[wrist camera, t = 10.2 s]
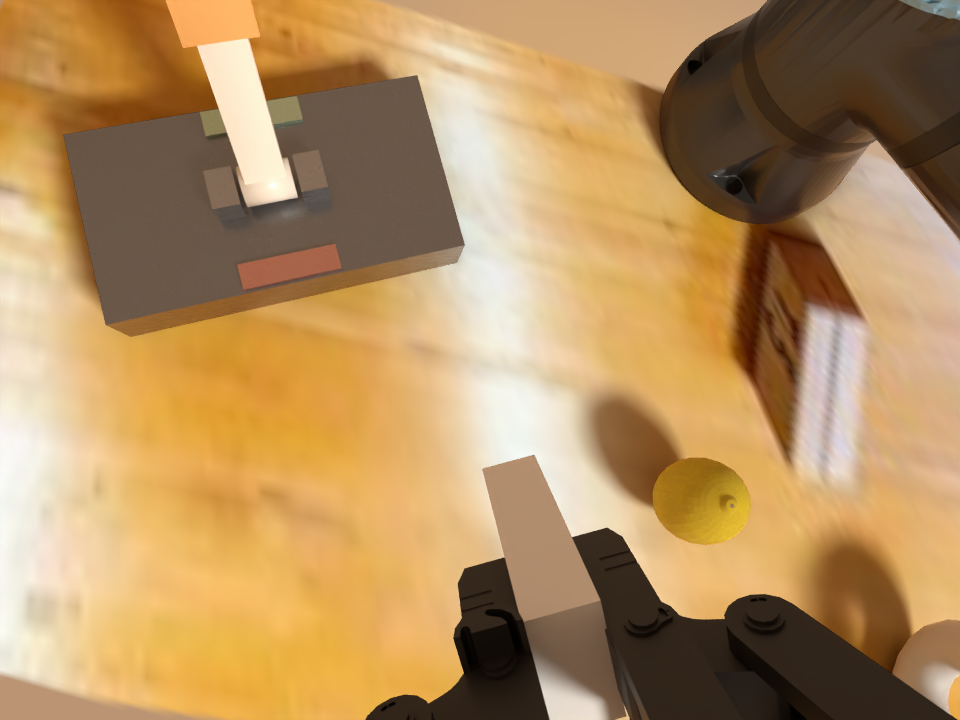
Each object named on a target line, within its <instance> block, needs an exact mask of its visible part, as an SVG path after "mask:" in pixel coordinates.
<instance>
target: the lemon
mask: <svg viewBox="0 0 960 720" xmlns="http://www.w3.org/2000/svg"><path fill="white" fill-rule="evenodd" d="M653 506H654V510H655V513H656V515H657V517H658V519H659V521H660V522H661V523H662V524H663V526H664V527H665V528H666V529H667V530H668V531H669V532H671V533H672V534H673V535H675V536H676V537H678V538H680V539H682V540H685V541H687V542H689V543H695V544H702V545H709V544H716V543H722V542H724V541H726V540H729V539H731V538H733V537H734V536H735V535H737V534H738V533H739V532H740V531H741V530H742V529H743V527H744V526H745V524H746V523H747V520H748V518H749V515H750V508H751V502H750V495H749V492H748V489H747V487H746V485H745V483H744V482H743V480H742V479H741V478H740V477H739V476H738V475H737V474H736V473H735V472H734V471H733V470H732V469H730V468H729V467H727V466H726V465H724V464H722V463H720V462H717V461H714V460H711V459H707V458H687V459H683V460H679V461H676V462H675V463H673V464H671V465H670V466H668V467H667V468H666V469H665V470H664V471H663V472H662V473H661V474H660V475H659V477H658V479H657V481H656V482H655V485H654V489H653Z"/></svg>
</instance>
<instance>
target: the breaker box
mask: <svg viewBox="0 0 960 720" xmlns="http://www.w3.org/2000/svg"><path fill="white" fill-rule="evenodd" d="M267 105H268V109H269V112H270V116H271V119H272V123H273V126H274V130H275V133H276V137H277V141H278V144H279V148H280V151H281V155H282V158H286V157H287V158H288V161H289V165H290V168H291V172H292V176H293V179H294V183H295V187H296V191H297V195H298V198H293V199H288V200H283V201H278V202H273V203H268V204H263V205H258V206H253V207H247V205H246V202H245V200H244V197H243V194H242V191H241V187H240V184H239V180H238V176H237V171H236V167H237V166H239V165H238V162H237V159H236V156H235V154H234V151H233V148H232V145H231V142H230V139H229V136H228V133H227V131H226V128H225V125H224V122H223V119H222V116H221V113H220V111H219V109H213V110H207V111H201V112H195V113H189V114H183V115H178V116H172V117H166V118H160V119H154V120H148V121H142V122H136V123H130V124H124V125H118V126H112V127H106V128H100V129H94V130H88V131H82V132H76V133H70V134H64V135H63V136H64V141H65V145H66V150H67V154H68V158H69V163H70V167H71V172H72V176H73V181H74V185H75V190H76V194H77V199H78V203H79V208H80V212H81V216H82V221H83V225H84V230H85V234H86V239H87V243H88V248H89V252H90V257H91V261H92V266H93V270H94V275H95V279H96V283H97V288H98V292H99V297H100V301H101V306H102V310H103V315H104V319H105V324H106V325H107V326H109V327H111V328H113V329H115V330H118V331H120V332H122V333H124V334H126V335H128V336H130V337H132V336H136V335H140V334H145V333H149V332H154V331H158V330H162V329H167V328H171V327H176V326H180V325H184V324H189V323H193V322H198V321H202V320H207V319H211V318H215V317H220V316H224V315H229V314H233V313H237V312H242V311H246V310H251V309H255V308H259V307H264V306H268V305H273V304H277V303H281V302H286V301H290V300H295V299H299V298H303V297H308V296H312V295H317V294H321V293H325V292H330V291H334V290H339V289H343V288H348V287H352V286H356V285H361V284H365V283H370V282H374V281H378V280H383V279H387V278H392V277H396V276H400V275H405V274H409V273H414V272H418V271H422V270H427V269H431V268H436V267H440V266H444V265H449V264H453V263H457V262H458V259H459V257H460V255H461V252H462V250H463V248H464V246H465V244H464V241H463V237H462V234H461V230H460V227H459V223H458V219H457V216H456V212H455V209H454V205H453V202H452V198H451V194H450V191H449V187H448V184H447V180H446V177H445V173H444V169H443V166H442V162H441V159H440V155H439V152H438V148H437V144H436V141H435V137H434V134H433V130H432V126H431V123H430V119H429V116H428V112H427V109H426V105H425V101H424V98H423V94H422V91H421V87H420V84H419V80H418V76H417V75H416V76H410V77H404V78H398V79H392V80H386V81H380V82H374V83H368V84H362V85H356V86H350V87H344V88H338V89H332V90H326V91H320V92H315V93H309V94H303V95H297V96H291V97H285V98H279V99H273V100H267Z"/></svg>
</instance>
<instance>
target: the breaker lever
mask: <svg viewBox="0 0 960 720" xmlns="http://www.w3.org/2000/svg"><path fill="white" fill-rule="evenodd" d="M166 3H167V6H168V8H169V11H170V14H171V17H172V19H173V22H174V25H175V27H176V30H177V33H178V36H179V38H180V41H181V44H182V47H183V48H186V47H193V46H197V47H198V50H199V53H200V56H201V59H202V62H203V65H204V67H205V70H206V73H207V76H208V79H209V82H210V85H211V88H212V90H213V93H214V96H215V99H216V102H217V105H218V108H219V111H220V113H221V116H222V119H223V122H224V125H225V128H226V131H227V133H228V136H229V139H230V142H231V145H232V148H233V151H234V154H235V156H236V159H237V162H238V165H239V166H237V167H236V171H237V176H238V180H239V184H240V187H241V191H242V194H243V197H244V200H245V202H246V205H247V207H253V206H258V205H263V204H268V203H273V202H278V201H283V200H288V199H293V198H298V195H297V191H296V187H295V183H294V179H293V176H292V172H291V168H290V165H289V161H288V158H287V157H286V158H282V155H281V151H280V148H279V144H278V141H277V137H276V133H275V130H274V126H273V123H272V119H271V116H270V112H269V109H268V105H267V101H266V98H265V94H264V91H263V87H262V84H261V80H260V77H259V73H258V69H257V66H256V62H255V59H254V55H253V52H252V48H251V44H250V41H249V38H253V37H260V34H259V30H258V26H257V22H256V17H255V13H254V10H253V6H252V2H251V0H166Z"/></svg>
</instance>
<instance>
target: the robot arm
mask: <svg viewBox="0 0 960 720" xmlns="http://www.w3.org/2000/svg"><path fill="white" fill-rule="evenodd" d="M660 130H661V137H662V142H663V145H664V149H665V152H666V155H667V157H668V160H669V162H670V164H671V166H672V168H673V170H674V171H675V173H676V175H677V176H678V178H679V179H680V181H681V182H682V183H683V184H684V186H685V187H686V188H687V189H688V190H689V191H690V192H691V193H692V194H693V195H694V196H695V197H696V198H697V199H698V200H699V201H701V202H702V203H703V204H705V205H706V206H707V207H709V208H710V209H712V210H714V211H715V212H717V213H719V214H721V215H724V216H726V217H728V218H731V219H734V220H737V221H741V222H746V223H754V224H768V223H776V222H781V221H784V220H787V219H790V218H793V217H795V216H797V215H799V214H800V213H802V212H804V211H806V210H808V209H809V208H811V207H813V206H815V205H816V204H818V203H819V202H821V201H822V200H824V199H825V198H826V197H827V196H828V195H830V194H831V193H832V192H833V191H834V190H835V189H836V188H837V186H838V185H839V184H840V183H841V181H842V180H843V179H844V177H845V176H846V175H847V173H848V172H849V171H850V170H851V168H852V167H853V166H854V164H855V163H856V162H857V160H858V159H859V158H860V156H861V155H862V154H863V153H864V151H865V150H866V149H867V147H868V146H869V145H870V144H871V143H873V142H874V141H876V140H877V141H878V142H879V143H880V144H881V145H882V147H883V148H884V149H885V150H886V151H887V152H888V154H889V155H890V156H891V157H892V158H893V160H894V161H895V162H896V163H897V164H898V166H899V167H900V169H901V170H902V171H903V172H904V173H905V175H906V176H907V177H908V178H909V179H910V181H911V182H912V183H913V184H914V186H915V187H916V188H917V189H918V190H919V192H920V193H921V194H922V195H923V196H924V198H925V199H926V200H927V201H928V202H929V204H930V205H931V206H932V207H933V209H934V210H935V211H936V212H937V213H938V215H939V216H940V217H941V218H942V219H943V221H944V222H945V223H946V224H947V225H948V227H949V228H950V229H951V230H952V232H953V233H954V234H955V235H956V236H957V238H958V239H959V240H960V0H767V2H766V3H765V4H764V5H763V6H762V7H761V8H760V10H759V11H758V12H756V13H754V14H752V15H751V16H749V17H747V18H745V19H743V20H741V21H739V22H737V23H735V24H734V25H732V26H730V27H728V28H726V29H724V30H722V31H720V32H718V33H717V34H715V35H713V36H711V37H709V38H708V39H706V40H705V41H704V42H702V43H701V44H700V45H699V46H698V47H696V48H695V49H694V50H693V51H692V52H691V53H690V54H689V56H688V57H687V58H686V59H685V61H684V62H683V63H682V64H681V66H680V67H679V68H678V69H677V71H676V72H675V73H674V75H673V76H672V78H671V80H670V81H669V83H668V85H667V88H666V90H665V93H664V96H663V100H662V104H661V111H660ZM483 473H484V477H485V481H486V485H487V489H488V493H489V497H490V501H491V505H492V509H493V513H494V516H495V520H496V524H497V528H498V532H499V536H500V540H501V544H502V548H503V552H504V556H505V558H501V559H497V560H494V561H490V562H487V563H483V564H479V565H476V566H472V567H468V568H465V569H464V571H463V573H462V576H461V578H460V580H459V582H458V589H459V598H460V606H461V613H462V619H461V621H460V622H459V624H458V625H457V627H456V628H455V632H454V638H453V639H454V642H455V645H456V649H457V652H458V655H459V658H460V662H461V665H462V668H463V671H464V674H463V675H462V677H461V678H460V680H459V681H458V683H457V684H456V685H455V686H454V687H453V688H452V689H451V690H449V691H448V692H446V693H445V694H444V695H442V696H441V697H439V698H437V699H435V700H434V701H432V702H430V703H429V704H428V703H427V701H426V700H424V699H422V698H420V697H418V696H415V695H401V696H397V697H393V698H390V699H389V700H387V701H385V702H383V703H382V704H380V705H378V706H377V707H376V708H375V709H374V710H373V711H372V712H371V713H370V714H369V715H368V716H367V718H366V720H615V719H618V718H622V717H625V716H626V713H625V708H626V710H627V713H628V715H629V717H630V720H957V719H956V718H954V717H953V716H951V715H950V714H949V713H947V712H946V711H944V710H943V709H941V708H940V707H939V706H937V705H936V704H934V703H933V702H932V701H930V700H929V699H927V698H926V697H924V696H923V695H922V694H920V693H919V692H917V691H916V690H914V689H913V688H912V687H910V686H909V685H907V684H906V683H905V682H903V681H902V680H900V679H899V678H897V677H896V676H895V675H893V674H892V673H890V672H889V671H887V670H886V669H885V668H883V667H882V666H880V665H879V664H878V663H876V662H875V661H873V660H872V659H870V658H869V657H868V656H866V655H865V654H863V653H862V652H860V651H859V650H858V649H856V648H855V647H853V646H852V645H851V644H849V643H848V642H846V641H845V640H843V639H842V638H841V637H839V636H838V635H836V634H835V633H833V632H832V631H831V630H829V629H828V628H826V627H825V626H824V625H822V624H821V623H819V622H818V621H816V620H815V619H814V618H812V617H811V616H809V615H808V614H806V613H805V612H804V611H802V610H801V609H799V608H798V607H797V606H795V605H794V604H792V603H790V602H788V601H786V600H784V599H782V598H780V597H776V596H771V595H766V594H760V595H748V596H745V597H742V598H739V599H737V600H736V601H734V602H733V603H732V604H730V605H729V606H728V608H727V610H726V612H725V615H724V616H725V619H712V620H701V619H691V618H686V617H682V616H680V615H678V613H677V612H676V611H675V610H674V609H673V608H672V607H671V606H669V605H667V604H665V603H662V602H661V601H660V599H659V597H658V596H657V594H656V592H655V590H654V589H653V587H652V585H651V584H650V582H649V580H648V579H647V577H646V575H645V574H644V572H643V570H642V569H641V567H640V565H639V564H638V563H637V560H636V559H635V557H634V555H633V554H632V552H631V551H630V549H629V547H628V545H627V544H626V542H625V540H624V539H623V537H622V536H620V535H619V534H617V533H615V532H614V531H612V530H610V529H609V528H604V529H601V530H597V531H593V532H590V533H586V534H582V535H579V536H575V537H571V534H570V532H569V530H568V528H567V526H566V523H565V521H564V519H563V517H562V515H561V512H560V510H559V508H558V506H557V504H556V501H555V499H554V497H553V495H552V493H551V490H550V488H549V486H548V484H547V482H546V480H545V477H544V475H543V473H542V471H541V469H540V466H539V464H538V462H537V460H536V458H535V455H532V456H528V457H524V458H521V459H517V460H513V461H509V462H506V463H502V464H498V465H495V466H491V467H487V468H484V469H483ZM623 703H624V704H623ZM624 705H625V708H624Z"/></svg>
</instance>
